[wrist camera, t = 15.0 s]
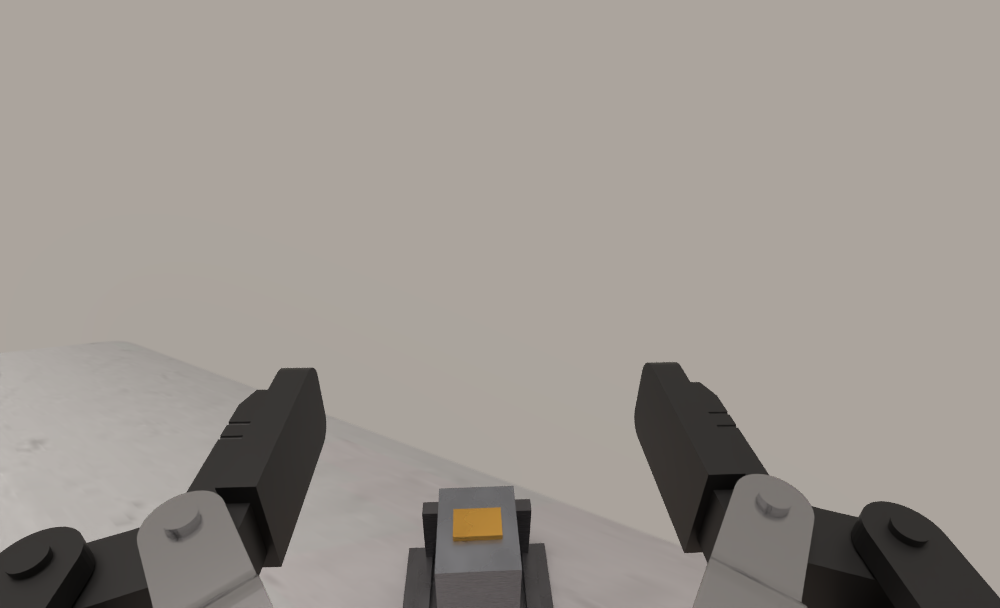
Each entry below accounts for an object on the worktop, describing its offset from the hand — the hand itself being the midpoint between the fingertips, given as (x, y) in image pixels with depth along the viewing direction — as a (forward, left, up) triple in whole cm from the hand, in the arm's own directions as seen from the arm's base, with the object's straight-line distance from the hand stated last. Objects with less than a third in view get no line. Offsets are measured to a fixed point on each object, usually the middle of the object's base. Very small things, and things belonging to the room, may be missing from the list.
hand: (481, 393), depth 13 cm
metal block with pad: (-4, +10, -30) cm, 31 cm away
